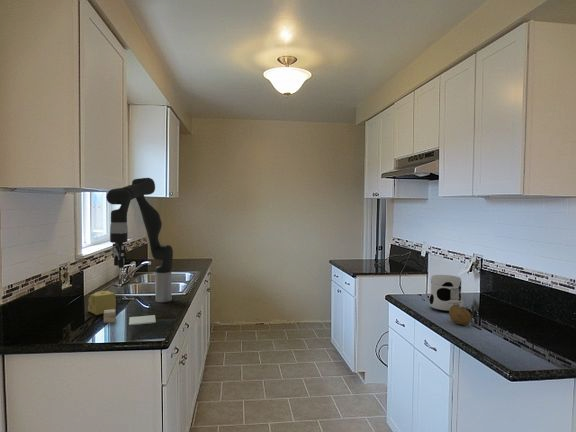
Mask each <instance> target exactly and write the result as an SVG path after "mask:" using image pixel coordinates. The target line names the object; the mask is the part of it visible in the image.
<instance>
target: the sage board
mask: <svg viewBox="0 0 576 432" xmlns="http://www.w3.org/2000/svg"><path fill="white" fill-rule="evenodd" d="M128 320H129V322H128V325H129V326H138V325H146V324H147V325H149V324H156V323H157V321H156V315H155V314H152V315H143V316H131V317H130V316H129V319H128Z"/></svg>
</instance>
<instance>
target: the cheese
mask: <svg viewBox="0 0 576 432" xmlns="http://www.w3.org/2000/svg"><path fill="white" fill-rule="evenodd" d="M87 301H88V306H87V311H88V312H89V313H92V314H93V315H95V316H98V315H104V310H113V309H116V308H117V307H116V306H117V302H116V301H117V299H116V294H115V293H114V292H111V291H109V290H101V291H95V292H94V293H93V294H90V296H89V297H88V300H87Z"/></svg>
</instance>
